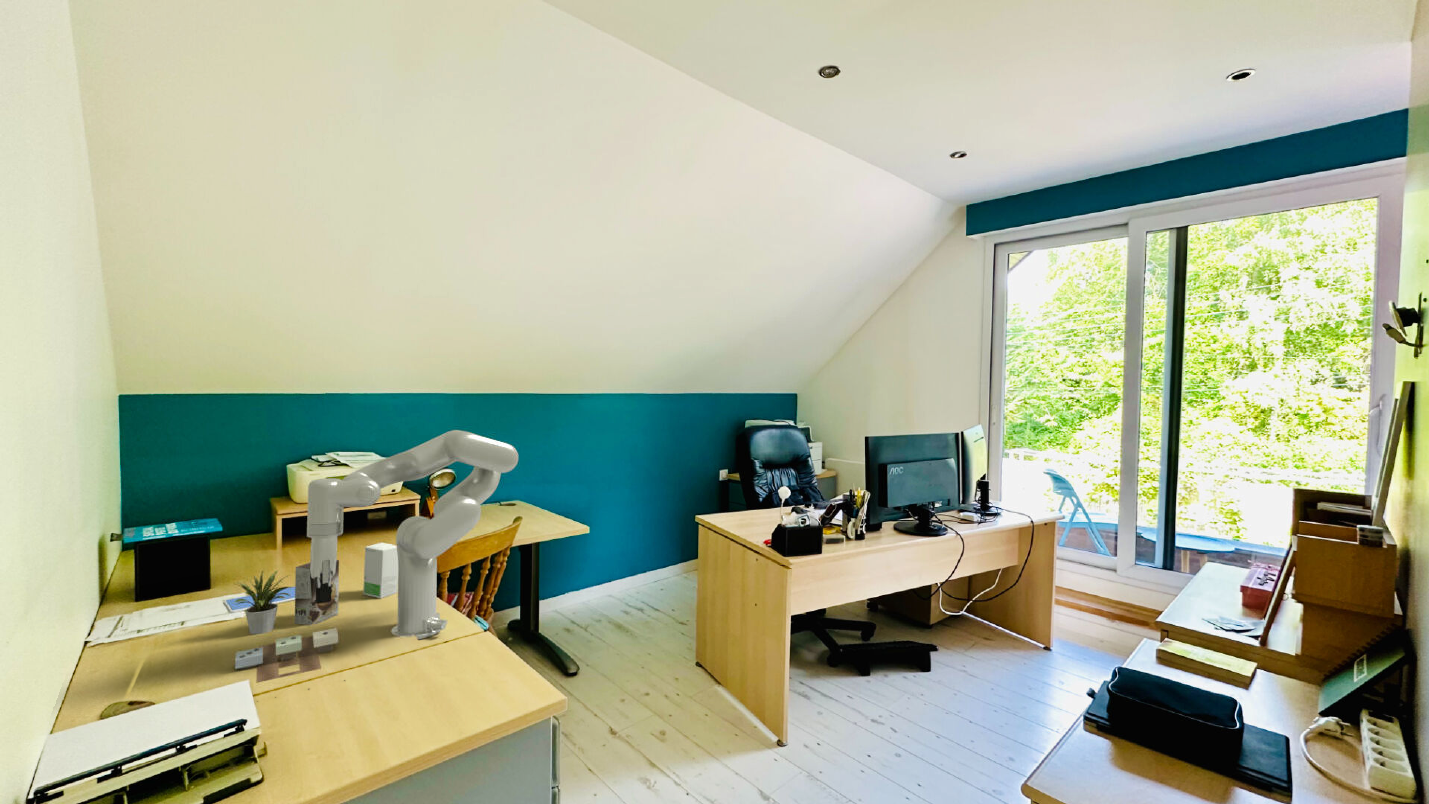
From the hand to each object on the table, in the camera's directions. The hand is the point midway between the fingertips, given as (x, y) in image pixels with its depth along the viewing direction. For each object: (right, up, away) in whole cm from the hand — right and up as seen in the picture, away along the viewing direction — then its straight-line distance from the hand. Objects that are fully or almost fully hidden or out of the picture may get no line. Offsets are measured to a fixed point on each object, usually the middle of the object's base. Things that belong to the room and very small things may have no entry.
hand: (323, 601), depth 149 cm
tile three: (-12, -13, -8) cm, 20 cm away
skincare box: (-10, -12, +44) cm, 46 cm away
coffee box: (-17, -13, +23) cm, 31 cm away
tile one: (0, -12, +1) cm, 12 cm away
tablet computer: (-41, -12, +36) cm, 56 cm away
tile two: (-6, -12, -4) cm, 14 cm away
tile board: (-6, -13, -4) cm, 15 cm away
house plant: (-26, -13, +12) cm, 31 cm away
